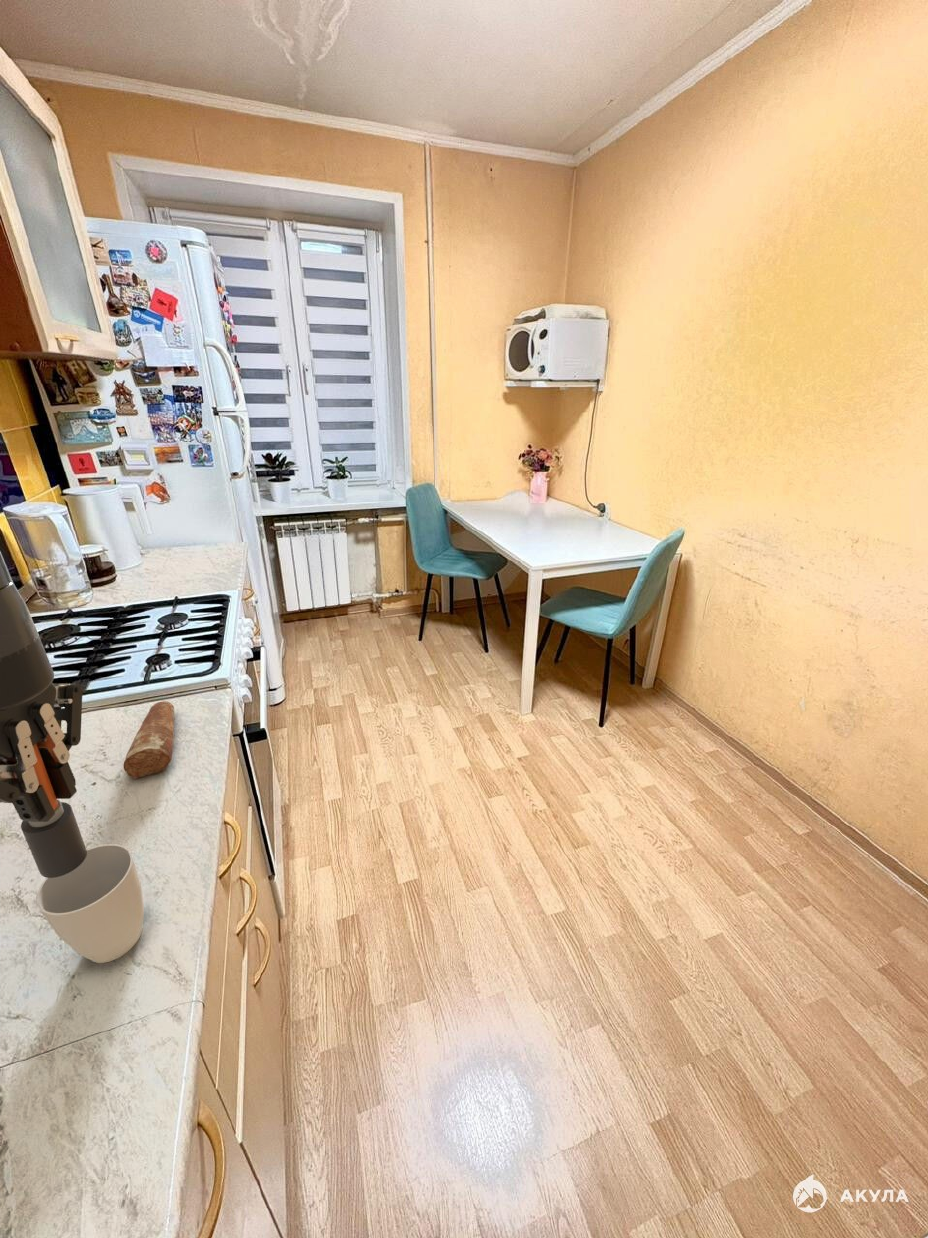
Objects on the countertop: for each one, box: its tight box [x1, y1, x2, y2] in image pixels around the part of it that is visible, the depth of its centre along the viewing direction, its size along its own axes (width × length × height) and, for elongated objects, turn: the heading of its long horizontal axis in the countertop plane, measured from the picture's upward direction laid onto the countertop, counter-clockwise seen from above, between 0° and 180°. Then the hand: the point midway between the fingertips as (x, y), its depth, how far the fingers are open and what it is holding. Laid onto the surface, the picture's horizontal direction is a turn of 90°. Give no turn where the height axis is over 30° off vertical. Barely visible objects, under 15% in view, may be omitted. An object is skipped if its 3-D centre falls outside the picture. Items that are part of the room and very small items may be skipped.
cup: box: [35, 843, 145, 964], centre depth 53 cm, size 8×8×10 cm
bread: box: [123, 700, 175, 779], centre depth 84 cm, size 6×19×6 cm, turn 21°
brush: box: [14, 743, 87, 878], centre depth 46 cm, size 4×4×18 cm
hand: (52, 806), depth 47 cm, fingers closed on brush, 2 cm apart
